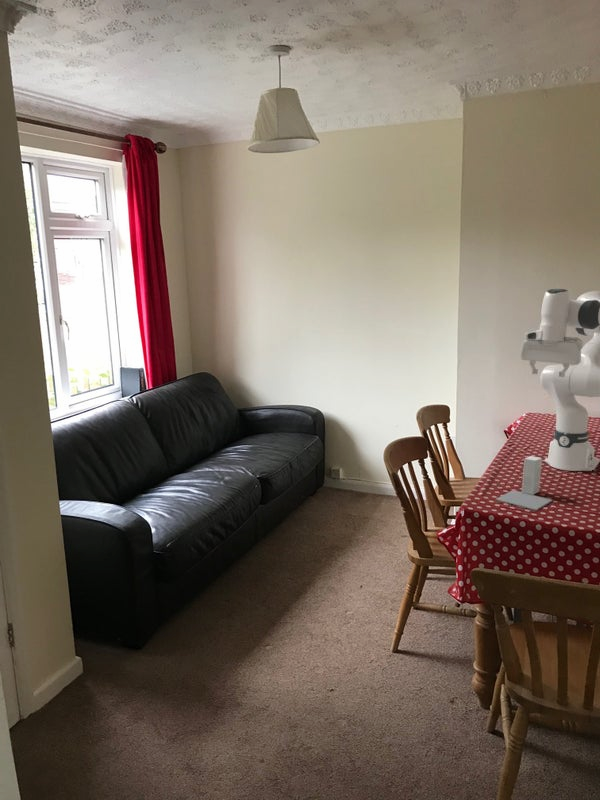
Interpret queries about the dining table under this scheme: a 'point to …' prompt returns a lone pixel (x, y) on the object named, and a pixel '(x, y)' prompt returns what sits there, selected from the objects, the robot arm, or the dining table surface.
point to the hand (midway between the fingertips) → (547, 375)
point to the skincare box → (531, 475)
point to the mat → (524, 500)
